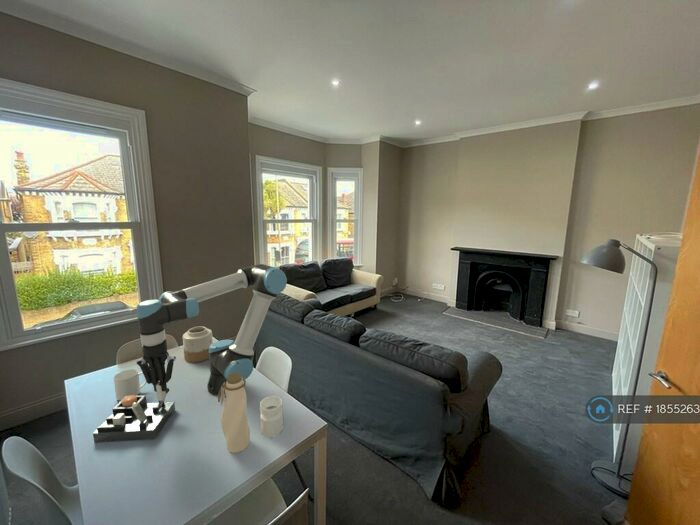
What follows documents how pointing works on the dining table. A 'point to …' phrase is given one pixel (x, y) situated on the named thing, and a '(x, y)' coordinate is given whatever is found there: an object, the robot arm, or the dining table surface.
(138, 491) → the dining table surface
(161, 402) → the lever
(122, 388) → the mug
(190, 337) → the vase
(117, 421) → the slider
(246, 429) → the water bottle
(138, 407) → the lever
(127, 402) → the button
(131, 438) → the panel
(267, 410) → the cream cylinder
